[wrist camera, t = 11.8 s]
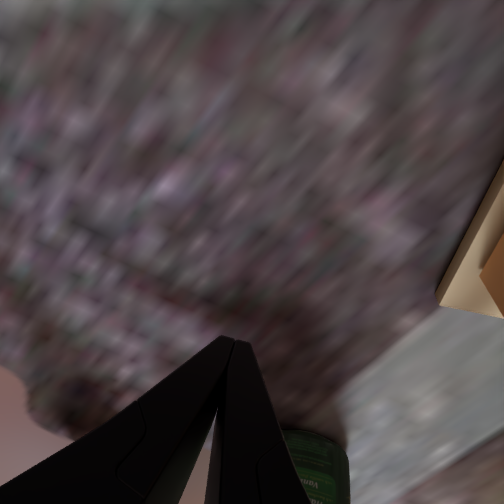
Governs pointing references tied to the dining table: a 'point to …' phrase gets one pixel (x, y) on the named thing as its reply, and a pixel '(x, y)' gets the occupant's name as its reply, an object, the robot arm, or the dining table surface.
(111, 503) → the robot arm
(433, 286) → the dining table surface
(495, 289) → the plunger
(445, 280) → the wooden base with posts
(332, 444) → the coffee jar
